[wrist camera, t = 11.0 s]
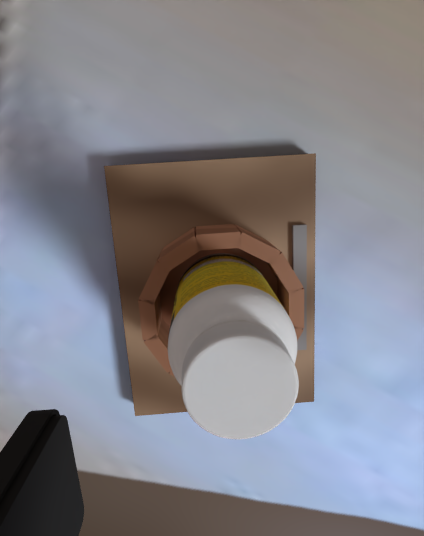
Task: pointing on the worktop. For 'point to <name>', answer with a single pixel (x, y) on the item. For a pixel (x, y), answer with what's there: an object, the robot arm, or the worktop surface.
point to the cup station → (209, 251)
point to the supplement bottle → (232, 348)
